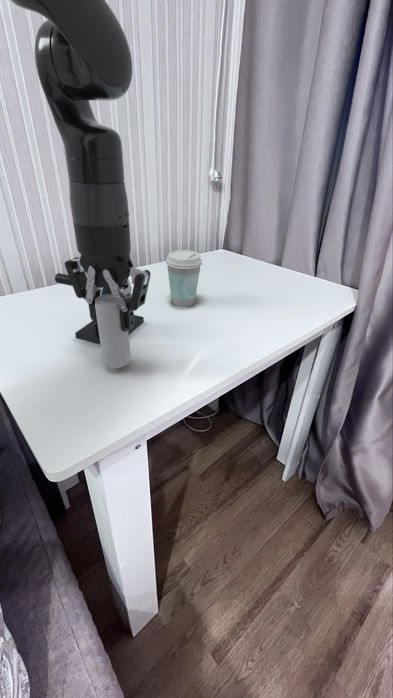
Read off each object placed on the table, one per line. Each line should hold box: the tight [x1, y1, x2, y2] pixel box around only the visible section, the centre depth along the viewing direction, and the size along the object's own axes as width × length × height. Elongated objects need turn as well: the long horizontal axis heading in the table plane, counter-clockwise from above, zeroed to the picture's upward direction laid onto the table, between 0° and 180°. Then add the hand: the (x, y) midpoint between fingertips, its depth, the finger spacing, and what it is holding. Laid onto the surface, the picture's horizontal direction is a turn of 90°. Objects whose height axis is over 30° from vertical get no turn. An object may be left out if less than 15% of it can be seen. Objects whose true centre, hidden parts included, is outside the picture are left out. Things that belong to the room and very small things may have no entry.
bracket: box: [74, 286, 145, 345], centre depth 67 cm, size 12×9×13 cm
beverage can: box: [95, 294, 131, 369], centre depth 55 cm, size 5×5×12 cm
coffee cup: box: [165, 249, 203, 307], centre depth 80 cm, size 8×8×12 cm
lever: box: [54, 272, 88, 288], centre depth 60 cm, size 12×5×2 cm, turn 158°
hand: (112, 325), depth 55 cm, fingers closed on beverage can, 4 cm apart
